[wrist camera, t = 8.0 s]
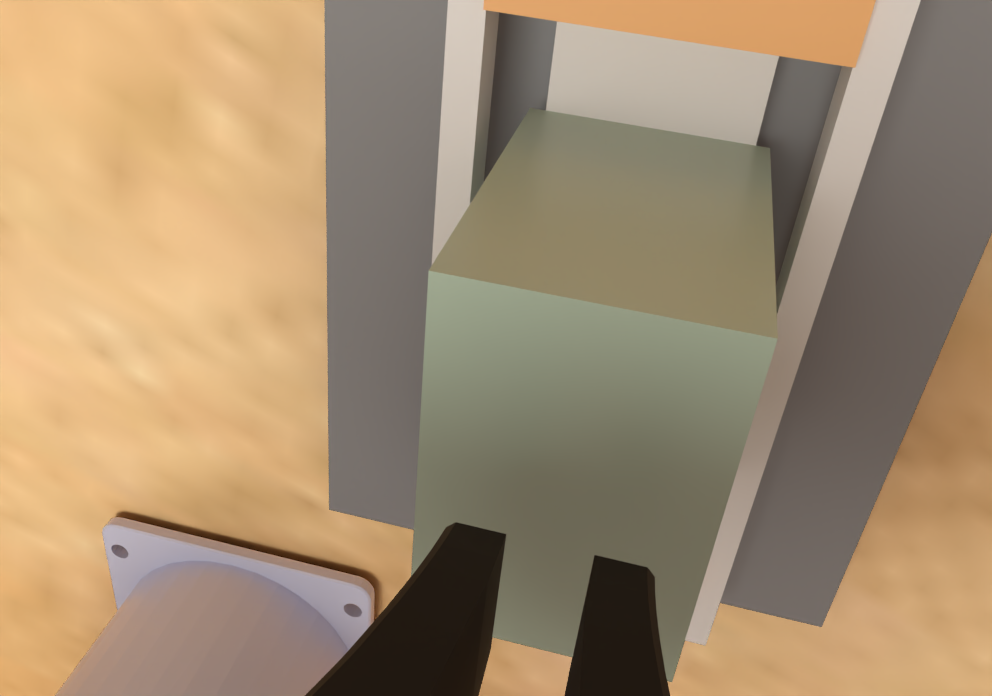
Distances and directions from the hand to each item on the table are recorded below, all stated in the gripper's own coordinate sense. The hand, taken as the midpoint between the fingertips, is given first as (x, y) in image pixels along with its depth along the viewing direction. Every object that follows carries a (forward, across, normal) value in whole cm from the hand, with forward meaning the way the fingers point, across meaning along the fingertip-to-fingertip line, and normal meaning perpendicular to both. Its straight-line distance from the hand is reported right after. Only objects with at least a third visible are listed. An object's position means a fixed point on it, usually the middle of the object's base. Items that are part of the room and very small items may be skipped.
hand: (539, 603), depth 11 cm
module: (+8, 0, 0) cm, 8 cm away
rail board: (+9, 0, 0) cm, 9 cm away
